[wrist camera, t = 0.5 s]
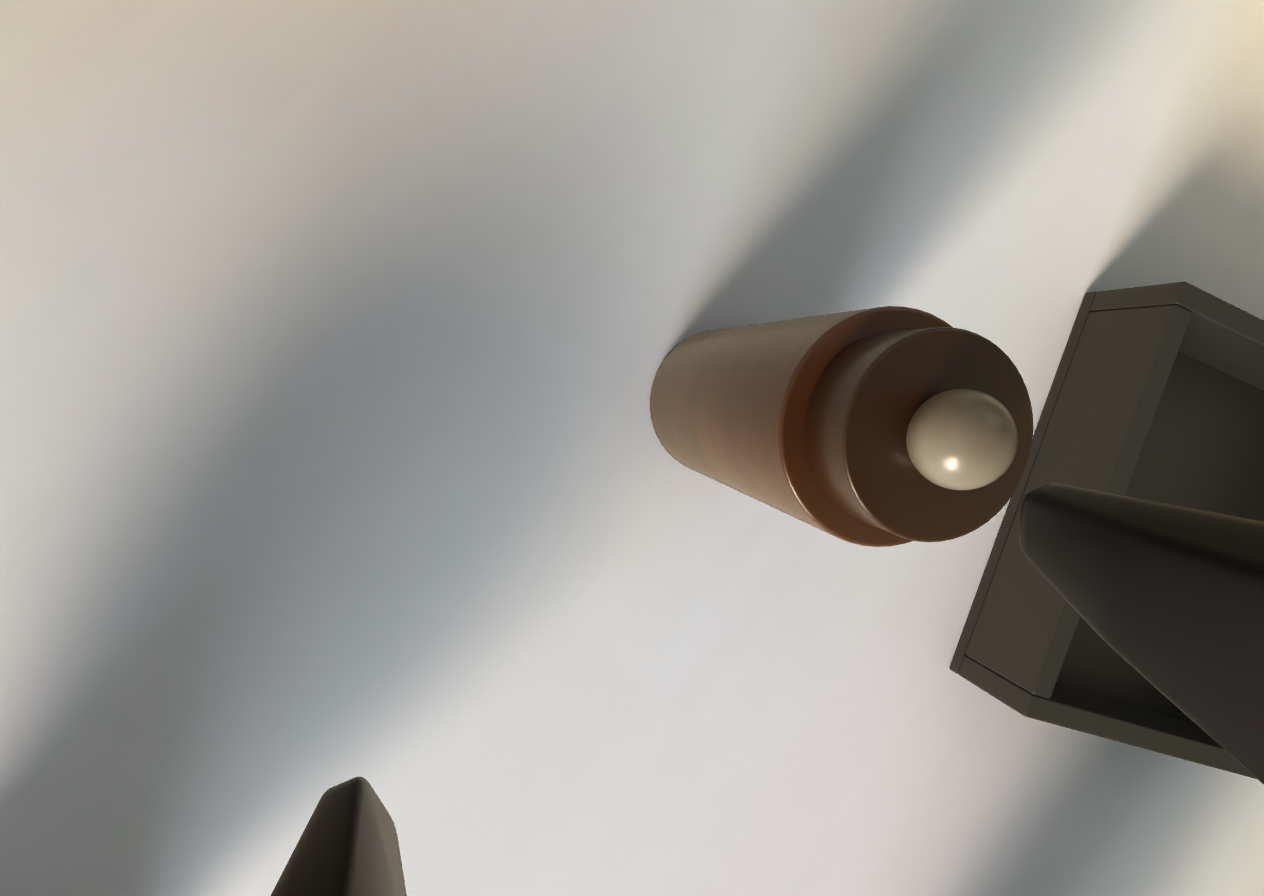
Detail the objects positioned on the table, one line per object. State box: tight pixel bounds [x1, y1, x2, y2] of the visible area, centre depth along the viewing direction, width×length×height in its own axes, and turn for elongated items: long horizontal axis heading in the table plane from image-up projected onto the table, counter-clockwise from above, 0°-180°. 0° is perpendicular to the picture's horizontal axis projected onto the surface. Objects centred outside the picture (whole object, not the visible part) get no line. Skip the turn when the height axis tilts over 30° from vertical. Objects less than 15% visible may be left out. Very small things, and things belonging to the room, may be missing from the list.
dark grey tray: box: [950, 282, 1264, 779], centre depth 28 cm, size 16×14×4 cm
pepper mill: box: [650, 306, 1033, 547], centre depth 18 cm, size 5×5×14 cm
